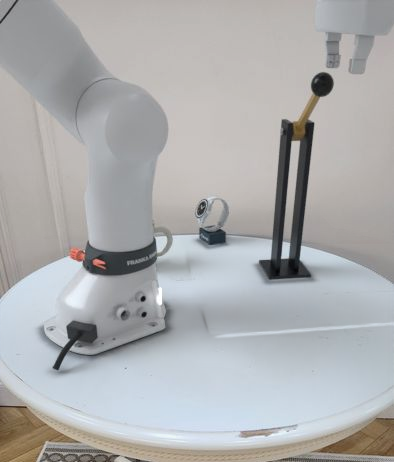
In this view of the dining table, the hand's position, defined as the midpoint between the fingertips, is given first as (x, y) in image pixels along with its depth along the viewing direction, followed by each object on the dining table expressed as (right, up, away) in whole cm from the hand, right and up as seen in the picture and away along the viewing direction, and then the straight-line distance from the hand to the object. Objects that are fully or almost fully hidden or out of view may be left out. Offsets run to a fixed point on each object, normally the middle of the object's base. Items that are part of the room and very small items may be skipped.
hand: (343, 70), depth 76 cm
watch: (-17, -14, +53) cm, 58 cm away
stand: (-2, -23, +38) cm, 45 cm away
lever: (-1, 0, +16) cm, 16 cm away
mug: (-32, -21, +42) cm, 57 cm away
